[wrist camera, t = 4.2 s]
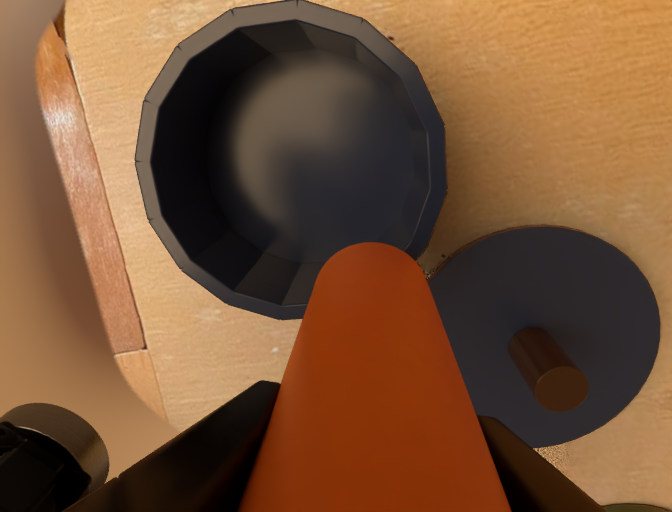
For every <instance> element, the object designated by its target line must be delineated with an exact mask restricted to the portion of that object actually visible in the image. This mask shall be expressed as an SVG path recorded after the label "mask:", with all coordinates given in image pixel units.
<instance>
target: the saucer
mask: <svg viewBox="0 0 672 512" xmlns="http://www.w3.org/2000/svg"><path fill="white" fill-rule="evenodd" d="M602 508H604V509H605V510H606V511H607V512H671V511H668V510H665V509H663V508H658V507H654V506H649V505H641V504H618V505H610V506H604V507H602Z"/></svg>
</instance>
